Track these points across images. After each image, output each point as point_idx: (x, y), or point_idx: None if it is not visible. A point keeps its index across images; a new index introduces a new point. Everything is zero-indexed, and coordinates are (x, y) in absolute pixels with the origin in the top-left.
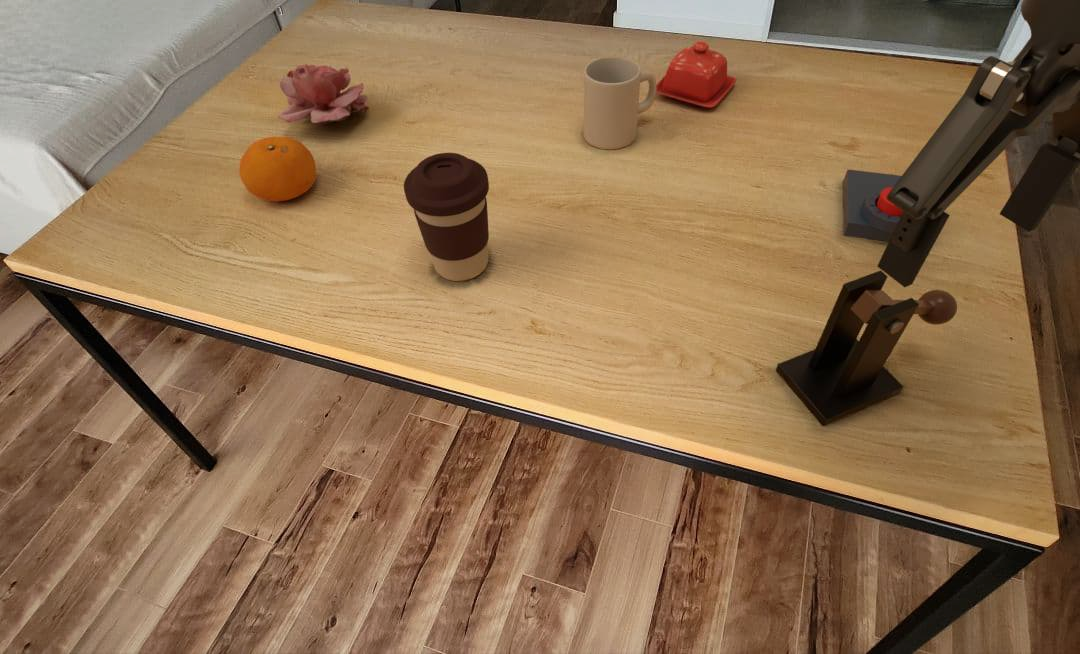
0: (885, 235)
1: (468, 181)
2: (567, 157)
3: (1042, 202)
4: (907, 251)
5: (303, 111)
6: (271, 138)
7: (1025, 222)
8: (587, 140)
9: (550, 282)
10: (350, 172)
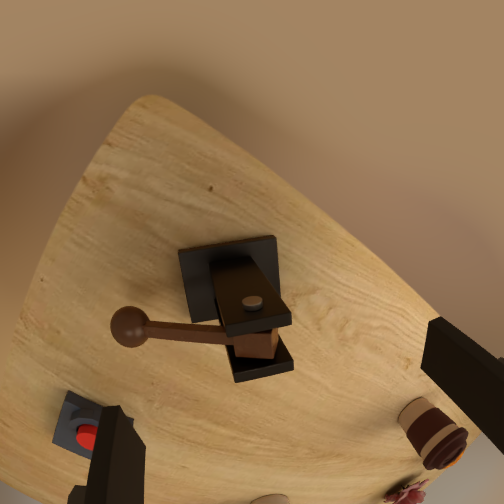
0: (100, 410)
1: (448, 451)
2: (306, 487)
3: (116, 466)
4: (501, 358)
5: (421, 485)
6: (451, 465)
7: (123, 425)
8: (287, 498)
9: (380, 399)
10: (414, 460)
